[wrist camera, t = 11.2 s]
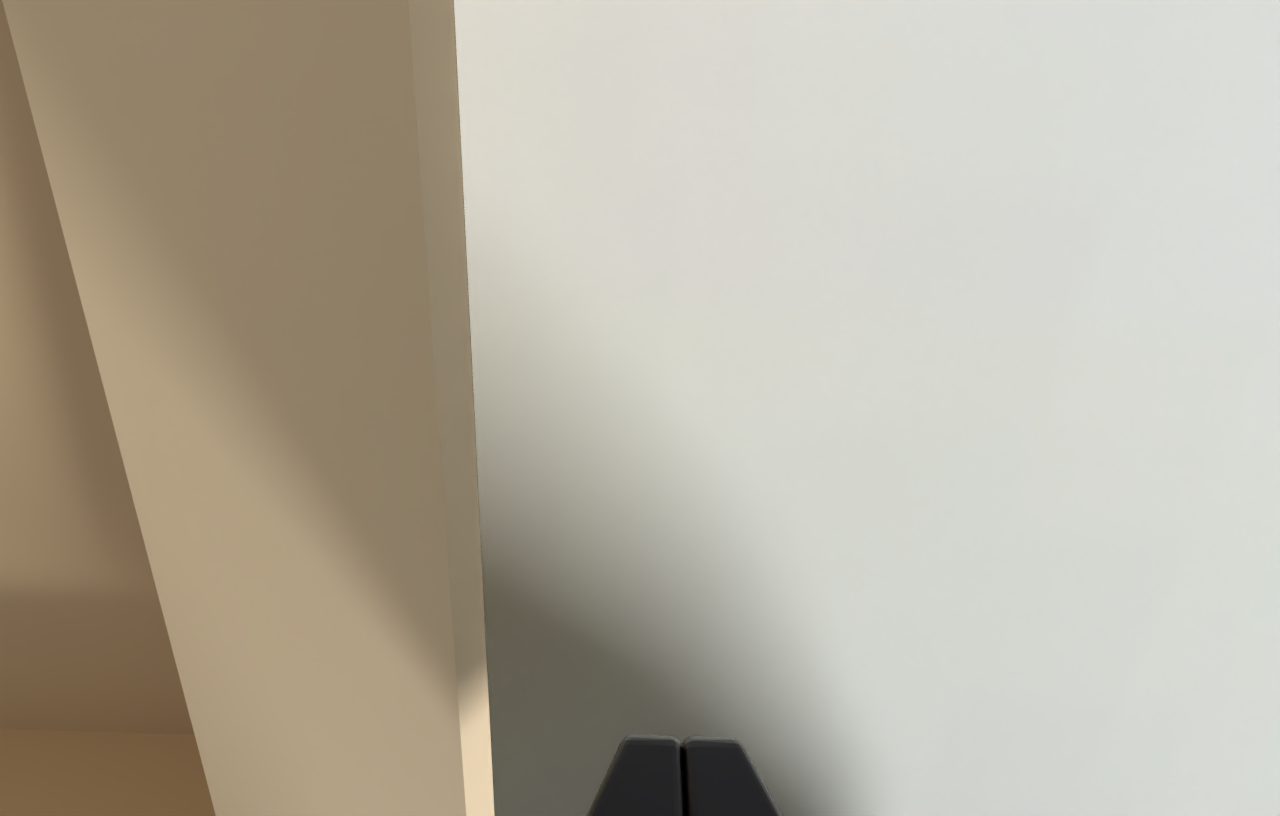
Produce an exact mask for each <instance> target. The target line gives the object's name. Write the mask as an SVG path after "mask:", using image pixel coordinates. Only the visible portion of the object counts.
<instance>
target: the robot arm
mask: <svg viewBox="0 0 1280 816" xmlns="http://www.w3.org/2000/svg"><path fill="white" fill-rule="evenodd" d="M587 816H781V814H780V812H779V810H778V808H777V807H776V805H775V803H774V801H773V799H772V797H771V796H770V794H769V792H768V790H767V788H766V786H765V785H764V783H763V781H762V779H761V777H760V775H759V774H758V772H757V770H756V768H755V766H754V764H753V762H752V761H751V759H750V757H749V755H748V753H747V751H746V750H745V748H744V747H743V746H742V744H741V743H740V742H739V741H738V740H736V739H734V738H730V737H703V736H691V737H688V738H687V739H685V740H684V742H683V743H682V747H681V743H680V741H679V740H678V739H677V738H676V737H674V736H671V735H639V734H633V735H629V736H627V737H626V738H625V739H624V740H623V741H622V742H621V744H620V746H619V748H618V750H617V752H616V754H615V756H614V758H613V761H612V763H611V765H610V767H609V769H608V771H607V773H606V776H605V778H604V780H603V782H602V784H601V786H600V789H599V791H598V793H597V795H596V797H595V799H594V801H593V804H592V806H591V808H590V810H589V812H588V814H587Z"/></svg>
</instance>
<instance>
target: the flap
mask: <svg viewBox="0 0 1280 816" xmlns="http://www.w3.org/2000/svg"><path fill="white" fill-rule="evenodd" d="M2 1H3V5H4V9H5V13H6V17H7V20H8V24H9V28H10V32H11V36H12V40H13V43H14V47H15V51H16V55H17V59H18V62H19V66H20V70H21V74H22V78H23V82H24V85H25V89H26V93H27V97H28V101H29V104H30V108H31V112H32V116H33V120H34V124H35V127H36V131H37V135H38V139H39V143H40V146H41V150H42V154H43V158H44V162H45V166H46V169H47V173H48V177H49V181H50V185H51V188H52V192H53V196H54V200H55V204H56V208H57V211H58V215H59V219H60V223H61V227H62V230H63V234H64V238H65V242H66V246H67V250H68V253H69V257H70V261H71V265H72V269H73V272H74V276H75V280H76V284H77V288H78V292H79V295H80V299H81V303H82V307H83V311H84V314H85V318H86V322H87V326H88V330H89V333H90V337H91V341H92V345H93V349H94V353H95V356H96V360H97V364H98V368H99V372H100V375H101V379H102V383H103V387H104V391H105V395H106V398H107V402H108V406H109V410H110V414H111V417H112V421H113V425H114V429H115V433H116V437H117V440H118V444H119V448H120V452H121V456H122V459H123V463H124V467H125V471H126V475H127V479H128V482H129V486H130V490H131V494H132V498H133V501H134V505H135V509H136V513H137V517H138V521H139V524H140V528H141V532H142V536H143V540H144V543H145V547H146V551H147V555H148V559H149V563H150V566H151V570H152V574H153V578H154V582H155V585H156V589H157V593H158V597H159V601H160V605H161V608H162V612H163V616H164V620H165V624H166V627H167V631H168V635H169V639H170V643H171V647H172V650H173V654H174V658H175V662H176V666H177V669H178V673H179V677H180V681H181V685H182V689H183V692H184V696H185V700H186V704H187V708H188V711H189V715H190V719H191V723H192V727H193V731H194V734H195V738H196V742H197V746H198V750H199V753H200V757H201V761H202V765H203V769H204V773H205V776H206V780H207V784H208V788H209V792H210V795H211V799H212V803H213V807H214V811H215V814H216V816H495V815H494V795H493V775H492V755H491V735H490V715H489V695H488V675H487V655H486V635H485V615H484V595H483V575H482V555H481V535H480V515H479V495H478V475H477V455H476V435H475V415H474V395H473V375H472V355H471V335H470V315H469V295H468V275H467V255H466V235H465V215H464V195H463V175H462V156H461V136H460V116H459V96H458V76H457V56H456V36H455V16H454V0H2Z"/></svg>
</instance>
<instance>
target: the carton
mask: <svg viewBox="0 0 1280 816" xmlns="http://www.w3.org/2000/svg"><path fill="white" fill-rule="evenodd" d="M0 816H216V814H215V811H214V807H213V803H212V799H211V795H210V792H209V788H208V784H207V780H206V776H205V773H204V769H203V765H202V761H201V757H200V753H199V750H198V746H197V742H196V738H195V734H194V731H193V727H192V723H191V719H190V715H189V711H188V708H187V704H186V700H185V696H184V692H183V689H182V685H181V681H180V677H179V673H178V669H177V666H176V662H175V658H174V654H173V650H172V647H171V643H170V639H169V635H168V631H167V627H166V624H165V620H164V616H163V612H162V608H161V605H160V601H159V597H158V593H157V589H156V585H155V582H154V578H153V574H152V570H151V566H150V563H149V559H148V555H147V551H146V547H145V543H144V540H143V536H142V532H141V528H140V524H139V521H138V517H137V513H136V509H135V505H134V501H133V498H132V494H131V490H130V486H129V482H128V479H127V475H126V471H125V467H124V463H123V459H122V456H121V452H120V448H119V444H118V440H117V437H116V433H115V429H114V425H113V421H112V417H111V414H110V410H109V406H108V402H107V398H106V395H105V391H104V387H103V383H102V379H101V375H100V372H99V368H98V364H97V360H96V356H95V353H94V349H93V345H92V341H91V337H90V333H89V330H88V326H87V322H86V318H85V314H84V311H83V307H82V303H81V299H80V295H79V292H78V288H77V284H76V280H75V276H74V272H73V269H72V265H71V261H70V257H69V253H68V250H67V246H66V242H65V238H64V234H63V230H62V227H61V223H60V219H59V215H58V211H57V208H56V204H55V200H54V196H53V192H52V188H51V185H50V181H49V177H48V173H47V169H46V166H45V162H44V158H43V154H42V150H41V146H40V143H39V139H38V135H37V131H36V127H35V124H34V120H33V116H32V112H31V108H30V104H29V101H28V97H27V93H26V89H25V85H24V82H23V78H22V74H21V70H20V66H19V62H18V59H17V55H16V51H15V47H14V43H13V40H12V36H11V32H10V28H9V24H8V20H7V17H6V13H5V9H4V5H3V1H2V0H0Z"/></svg>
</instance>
